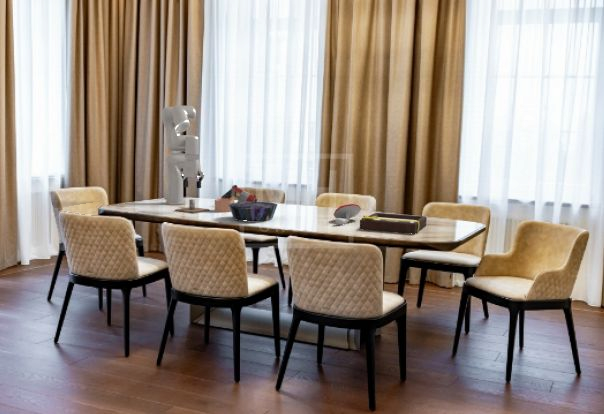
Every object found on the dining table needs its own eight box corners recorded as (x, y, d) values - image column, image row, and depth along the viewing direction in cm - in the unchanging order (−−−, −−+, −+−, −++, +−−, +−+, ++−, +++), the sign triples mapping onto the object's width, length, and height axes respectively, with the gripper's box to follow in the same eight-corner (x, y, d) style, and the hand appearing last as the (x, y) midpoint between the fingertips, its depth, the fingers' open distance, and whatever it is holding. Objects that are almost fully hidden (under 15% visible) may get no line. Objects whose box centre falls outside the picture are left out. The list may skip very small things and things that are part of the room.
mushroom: (318, 223, 347) (318, 204, 346) (343, 218, 368) (344, 200, 367) (339, 226, 340) (339, 206, 338) (364, 221, 360) (364, 202, 359)
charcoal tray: (172, 212, 377) (172, 211, 377) (191, 209, 390) (191, 208, 390) (193, 214, 368) (193, 213, 368) (212, 211, 382) (212, 210, 382)
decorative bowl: (219, 221, 358) (218, 204, 356) (257, 213, 377) (256, 196, 375) (250, 228, 340) (249, 209, 338) (288, 218, 360) (287, 200, 358)
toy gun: (248, 220, 400) (258, 198, 397) (217, 203, 402) (227, 182, 399) (250, 218, 405) (260, 197, 402) (219, 202, 407) (230, 181, 404)
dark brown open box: (416, 221, 320) (357, 217, 330) (416, 235, 320) (356, 230, 331) (427, 214, 346) (372, 210, 356) (427, 227, 346) (371, 222, 357)
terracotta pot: (210, 211, 380) (210, 199, 379) (223, 209, 389) (223, 198, 389) (225, 213, 374) (225, 201, 373) (237, 211, 384) (237, 199, 383)
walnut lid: (174, 210, 377) (174, 199, 376) (191, 208, 389) (191, 197, 388) (193, 213, 370) (193, 202, 369) (209, 210, 381) (209, 199, 381)
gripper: (176, 157, 376) (176, 187, 378) (199, 158, 367) (199, 188, 369) (185, 157, 383) (185, 186, 385) (208, 157, 373) (208, 188, 375)
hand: (192, 187), depth 377 cm, fingers open, 9 cm apart
